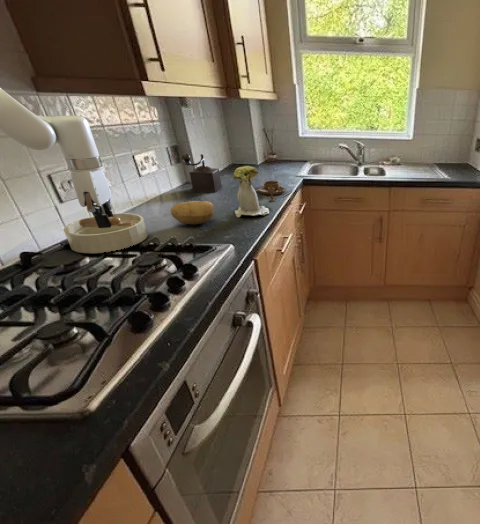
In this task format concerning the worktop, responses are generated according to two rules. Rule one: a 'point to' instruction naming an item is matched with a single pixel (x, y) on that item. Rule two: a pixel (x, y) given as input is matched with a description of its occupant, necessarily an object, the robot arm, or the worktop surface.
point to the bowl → (106, 235)
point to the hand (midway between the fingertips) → (107, 225)
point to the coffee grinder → (203, 176)
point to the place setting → (272, 189)
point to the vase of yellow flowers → (248, 192)
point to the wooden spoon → (113, 220)
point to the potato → (193, 212)
